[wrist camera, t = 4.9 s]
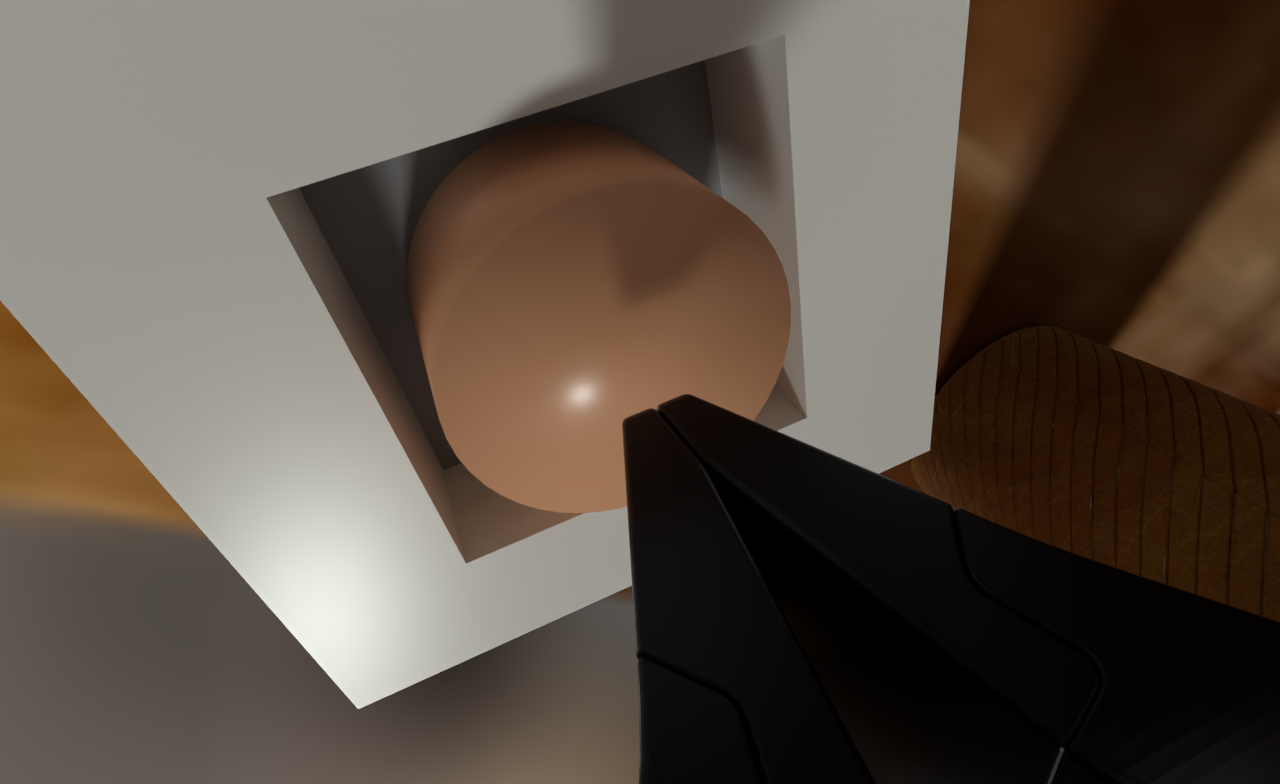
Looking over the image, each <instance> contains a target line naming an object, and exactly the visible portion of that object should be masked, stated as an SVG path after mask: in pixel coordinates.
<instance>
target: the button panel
mask: <svg viewBox="0 0 1280 784" xmlns="http://www.w3.org/2000/svg"><path fill="white" fill-rule="evenodd" d="M969 3H970V0H0V301H1V302H2V303H3V304H4V305H5V306H6V307H7V309H8V310H9V311H10V312H11V313H12V314H13V315H14V317H15V318H16V319H17V320H18V321H19V322H20V323H21V325H22V326H23V327H24V328H25V329H26V330H27V331H28V333H29V334H30V335H31V336H32V337H33V338H34V339H35V341H36V342H37V343H38V344H39V345H40V346H41V347H42V349H43V350H44V351H45V352H46V353H47V354H48V355H49V357H50V358H51V359H52V360H53V361H54V362H55V363H56V365H57V366H58V367H59V368H60V369H61V370H62V371H63V373H64V374H65V375H66V376H67V377H68V378H69V379H70V381H71V382H72V383H73V384H74V385H75V386H76V387H77V389H78V390H79V391H80V392H81V393H82V394H83V395H84V397H85V398H86V399H87V400H88V401H89V402H90V403H91V405H92V406H93V407H94V408H95V409H96V410H97V411H98V413H99V414H100V415H101V416H102V417H103V418H104V419H105V421H106V422H107V423H108V424H109V425H110V426H111V427H112V429H113V430H114V431H115V432H116V433H117V434H118V435H119V437H120V438H121V439H122V440H123V441H124V442H125V443H126V445H127V446H128V447H129V448H130V449H131V450H132V451H133V453H134V454H135V455H136V456H137V457H138V458H139V459H140V461H141V462H142V463H143V464H144V465H145V466H146V467H147V469H148V470H149V471H150V472H151V473H152V474H153V475H154V477H155V478H156V479H157V480H158V481H159V482H160V483H161V485H162V486H163V487H164V488H165V489H166V490H167V491H168V493H169V494H170V495H171V496H172V497H173V498H174V499H175V501H176V502H177V503H178V504H179V505H180V506H181V507H182V509H183V510H184V511H185V512H186V513H187V514H188V515H189V517H190V518H191V519H192V520H193V521H194V522H195V523H196V525H197V526H198V527H199V528H200V529H201V530H202V531H203V533H204V534H205V535H206V536H207V537H208V538H209V539H210V540H211V542H212V543H213V544H214V545H215V546H216V547H217V548H218V550H219V551H220V552H221V553H222V554H223V555H224V556H225V558H226V559H227V560H228V561H229V562H230V563H231V564H232V566H233V567H234V568H235V569H236V570H237V571H238V572H239V574H241V576H242V577H243V578H244V579H245V580H246V582H247V583H248V584H249V585H250V586H251V587H252V588H253V590H254V591H255V592H256V593H257V594H258V595H259V596H260V598H261V599H262V600H263V601H264V602H265V603H266V604H267V606H269V608H270V609H271V610H272V611H273V612H274V613H275V615H276V616H277V617H278V618H279V619H280V620H281V622H282V623H283V624H284V625H285V626H286V627H287V628H288V630H289V631H290V632H291V633H292V634H293V635H294V636H295V638H296V639H297V640H298V641H299V642H300V643H301V644H302V646H303V647H304V648H305V649H306V650H307V651H308V652H309V653H310V655H311V656H312V657H313V658H314V659H315V660H316V661H317V663H318V664H319V665H320V666H321V667H322V668H323V670H324V671H325V672H326V673H327V674H328V675H329V676H330V678H331V679H332V680H333V681H334V682H335V683H336V684H337V686H338V687H339V688H340V689H341V690H342V691H343V692H344V694H345V695H346V696H347V697H348V698H349V699H350V700H351V701H352V703H353V704H354V705H355V706H356V707H357V708H358V709H360V708H362V707H364V706H366V705H369V704H371V703H373V702H375V701H377V700H380V699H382V698H384V697H386V696H388V695H391V694H393V693H395V692H397V691H400V690H402V689H404V688H406V687H408V686H411V685H413V684H415V683H417V682H419V681H422V680H423V679H426V678H428V677H430V676H433V675H435V674H437V673H439V672H441V671H444V670H446V669H448V668H450V667H453V666H455V665H457V664H459V663H461V662H463V661H466V660H468V659H470V658H472V657H474V656H477V655H479V654H481V653H483V652H486V651H488V650H490V649H492V648H494V647H497V646H499V645H501V644H503V643H506V642H508V641H510V640H512V639H514V638H517V637H519V636H521V635H523V634H525V633H527V632H530V631H532V630H534V629H536V628H539V627H541V626H543V625H545V624H547V623H550V622H552V621H554V620H556V619H559V618H561V617H563V616H565V615H567V614H569V613H572V612H574V611H576V610H578V609H581V608H583V607H585V606H587V605H589V604H591V603H594V602H596V601H598V600H601V599H603V598H605V597H607V596H609V595H612V594H614V593H616V592H618V591H620V590H623V589H625V588H627V587H629V586H631V585H632V577H631V561H630V545H629V529H628V512H627V507H623V508H619V509H614V510H608V511H602V512H591V513H560V512H553V511H547V510H540V509H536V508H533V507H529V506H526V505H523V504H519V503H517V502H515V501H513V500H510V499H508V498H506V497H504V496H501V495H500V494H498V493H497V492H495V491H493V490H492V489H490V488H489V487H487V486H485V485H484V484H483V483H482V482H481V481H480V480H478V479H477V478H476V477H475V476H474V475H473V474H471V473H470V472H469V470H468V469H467V468H466V467H465V466H464V465H463V463H462V462H461V461H460V460H459V459H458V457H457V456H456V454H455V453H454V451H453V449H452V447H451V446H450V444H449V442H448V441H447V439H446V436H445V434H444V431H443V429H442V426H441V423H440V421H439V417H438V414H437V410H436V406H435V402H434V398H433V394H432V390H431V386H430V382H429V379H428V375H427V371H426V367H425V363H424V359H423V355H422V351H421V348H420V344H419V340H418V336H417V332H416V328H415V324H414V320H413V316H412V312H411V308H410V303H409V298H408V291H407V264H408V254H409V249H410V245H411V241H412V237H413V233H414V231H415V228H416V226H417V223H418V220H419V218H420V215H421V213H422V211H423V210H424V208H425V206H426V204H427V203H428V201H429V199H430V197H431V196H432V194H433V193H434V192H435V190H436V189H437V188H438V186H439V185H440V184H441V182H442V181H443V180H444V178H445V177H446V176H447V175H448V174H449V173H450V172H451V171H452V170H453V169H454V168H455V167H456V166H457V165H458V164H459V163H460V162H461V161H463V160H464V159H465V158H467V157H468V156H469V155H471V154H472V153H473V152H474V151H476V150H477V149H478V148H480V147H482V146H483V145H485V144H487V143H489V142H491V141H492V140H494V139H496V138H498V137H499V136H502V135H505V134H507V133H510V132H512V131H515V130H517V129H520V128H523V127H527V126H532V125H536V124H540V123H547V122H557V121H581V122H589V123H595V124H600V125H605V126H608V127H611V128H614V129H617V130H620V131H623V132H625V133H627V134H629V135H631V136H633V137H635V138H637V139H639V140H641V141H642V142H644V143H645V144H647V145H648V146H649V147H651V148H652V149H654V150H655V151H656V152H658V153H659V154H661V155H662V156H664V157H665V158H666V159H668V160H669V161H671V162H672V163H674V164H675V165H676V166H678V167H679V168H681V169H682V170H684V171H685V172H686V173H688V174H689V175H691V176H692V177H693V178H695V179H696V180H698V181H699V182H701V183H702V184H703V185H705V186H706V187H708V188H709V189H711V190H712V191H713V192H715V193H716V194H718V195H719V196H721V197H722V198H723V199H725V200H726V201H728V202H729V203H731V204H732V205H733V206H735V207H736V208H737V209H739V210H740V211H741V212H743V213H744V214H746V215H747V216H748V217H749V218H750V219H751V220H752V221H753V222H754V223H755V224H756V225H757V226H758V227H759V228H760V229H761V230H762V231H763V233H764V234H765V236H766V237H767V238H768V240H769V241H770V243H771V244H772V246H773V247H774V249H775V251H776V253H777V255H778V257H779V259H780V261H781V264H782V266H783V269H784V272H785V276H786V279H787V283H788V287H789V294H790V301H791V327H790V335H789V342H788V347H787V351H786V355H785V359H784V363H783V366H782V368H781V371H780V373H779V376H778V379H777V381H776V384H775V386H774V387H773V389H772V391H771V393H770V395H769V397H768V399H767V401H766V403H765V404H764V406H763V407H762V409H761V410H760V412H759V414H758V415H757V417H756V418H755V419H754V421H755V422H757V423H760V424H762V425H764V426H767V427H769V428H771V429H774V430H776V431H778V432H781V433H783V434H786V435H788V436H790V437H793V438H795V439H797V440H800V441H802V442H804V443H807V444H809V445H812V446H814V447H816V448H819V449H821V450H823V451H826V452H828V453H830V454H833V455H835V456H838V457H840V458H842V459H845V460H847V461H849V462H852V463H854V464H856V465H859V466H861V467H864V468H866V469H868V470H871V471H873V472H875V473H878V474H879V473H881V472H883V471H885V470H888V469H890V468H892V467H894V466H896V465H899V464H901V463H903V462H905V461H907V460H910V459H912V458H914V457H916V456H919V455H921V454H923V453H925V452H927V451H930V444H931V432H932V421H933V410H934V398H935V387H936V376H937V365H938V353H939V342H940V331H941V319H942V308H943V297H944V285H945V274H946V263H947V251H948V240H949V229H950V217H951V206H952V195H953V184H954V172H955V161H956V150H957V138H958V127H959V116H960V104H961V93H962V82H963V70H964V59H965V48H966V36H967V25H968V14H969Z"/></svg>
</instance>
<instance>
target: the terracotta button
mask: <svg viewBox="0 0 1280 784" xmlns="http://www.w3.org/2000/svg"><path fill="white" fill-rule="evenodd" d="M407 291H408V298H409V303H410V308H411V312H412V316H413V320H414V324H415V328H416V332H417V336H418V340H419V344H420V348H421V351H422V355H423V359H424V363H425V367H426V371H427V375H428V379H429V382H430V386H431V390H432V394H433V398H434V402H435V406H436V410H437V414H438V417H439V421H440V423H441V426H442V429H443V431H444V434H445V436H446V439H447V441H448V442H449V444H450V446H451V447H452V449H453V451H454V453H455V454H456V456H457V457H458V459H459V460H460V461H461V462H462V463H463V465H464V466H465V467H466V468H467V469H468V470H469V472H470V473H471V474H473V475H474V476H475V477H476V478H477V479H478V480H480V481H481V482H482V483H483V484H484V485H485V486H487V487H489V488H490V489H492V490H493V491H495V492H497V493H498V494H500V495H501V496H504V497H506V498H508V499H510V500H513V501H515V502H517V503H519V504H523V505H526V506H529V507H533V508H536V509H540V510H547V511H553V512H560V513H591V512H602V511H608V510H614V509H619V508H623V507H627V496H626V480H625V464H624V448H623V432H622V422H623V420H624V419H625V418H626V417H629V416H631V415H634V414H636V413H639V412H641V411H644V410H646V409H649V408H652V409H657V407H658V405H659V404H661V403H663V402H666V401H668V400H671V399H673V398H676V397H678V396H680V395H683V394H691V395H693V396H696V397H698V398H701V399H703V400H705V401H708V402H710V403H712V404H715V405H717V406H719V407H722V408H724V409H727V410H729V411H731V412H734V413H736V414H738V415H741V416H743V417H745V418H748V419H750V420H753V421H754V419H755V418H756V417H757V415H758V414H759V412H760V410H761V409H762V407H763V406H764V404H765V403H766V401H767V399H768V397H769V395H770V393H771V391H772V389H773V387H774V386H775V384H776V381H777V379H778V376H779V373H780V371H781V368H782V366H783V363H784V359H785V355H786V351H787V347H788V342H789V335H790V327H791V301H790V294H789V287H788V283H787V279H786V276H785V272H784V269H783V266H782V264H781V261H780V259H779V257H778V255H777V253H776V251H775V249H774V247H773V246H772V244H771V243H770V241H769V240H768V238H767V237H766V236H765V234H764V233H763V231H762V230H761V229H760V228H759V227H758V226H757V225H756V224H755V223H754V222H753V221H752V220H751V219H750V218H749V217H748V216H747V215H746V214H744V213H743V212H741V211H740V210H739V209H737V208H736V207H735V206H733V205H732V204H731V203H729V202H728V201H726V200H725V199H723V198H722V197H721V196H719V195H718V194H716V193H715V192H713V191H712V190H711V189H709V188H708V187H706V186H705V185H703V184H702V183H701V182H699V181H698V180H696V179H695V178H693V177H692V176H691V175H689V174H688V173H686V172H685V171H684V170H682V169H681V168H679V167H678V166H676V165H675V164H674V163H672V162H671V161H669V160H668V159H666V158H665V157H664V156H662V155H661V154H659V153H658V152H656V151H655V150H654V149H652V148H651V147H649V146H648V145H647V144H645V143H644V142H642V141H641V140H639V139H637V138H635V137H633V136H631V135H629V134H627V133H625V132H623V131H620V130H617V129H614V128H611V127H608V126H605V125H600V124H595V123H589V122H581V121H557V122H547V123H540V124H536V125H532V126H527V127H523V128H520V129H517V130H515V131H512V132H510V133H507V134H505V135H502V136H499V137H498V138H496V139H494V140H492V141H491V142H489V143H487V144H485V145H483V146H482V147H480V148H478V149H477V150H476V151H474V152H473V153H472V154H471V155H469V156H468V157H467V158H465V159H464V160H463V161H461V162H460V163H459V164H458V165H457V166H456V167H455V168H454V169H453V170H452V171H451V172H450V173H449V174H448V175H447V176H446V177H445V178H444V180H443V181H442V182H441V184H440V185H439V186H438V188H437V189H436V190H435V192H434V193H433V194H432V196H431V197H430V199H429V201H428V203H427V204H426V206H425V208H424V210H423V211H422V213H421V215H420V218H419V220H418V223H417V226H416V228H415V231H414V233H413V237H412V241H411V245H410V249H409V254H408V264H407Z"/></svg>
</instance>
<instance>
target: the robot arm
mask: <svg viewBox="0 0 1280 784" xmlns="http://www.w3.org/2000/svg"><path fill="white" fill-rule="evenodd" d="M622 432H623V448H624V464H625V480H626V496H627V512H628V529H629V545H630V561H631V577H632V593H633V609H634V625H635V641H636V655H637V658H638V661H637V679H638V694H639V695H638V696H639V731H640V768H639V784H1280V622H1278V621H1275V620H1272V619H1269V618H1266V617H1263V616H1260V615H1257V614H1254V613H1251V612H1248V611H1245V610H1242V609H1239V608H1236V607H1233V606H1230V605H1227V604H1224V603H1221V602H1218V601H1215V600H1212V599H1209V598H1206V597H1202V596H1199V595H1196V594H1193V593H1190V592H1187V591H1184V590H1181V589H1178V588H1175V587H1172V586H1169V585H1166V584H1163V583H1160V582H1157V581H1154V580H1151V579H1148V578H1145V577H1142V576H1139V575H1136V574H1133V573H1130V572H1127V571H1124V570H1121V569H1118V568H1115V567H1112V566H1109V565H1106V564H1103V563H1101V562H1098V561H1095V560H1092V559H1089V558H1086V557H1083V556H1081V555H1078V554H1075V553H1072V552H1069V551H1066V550H1063V549H1061V548H1058V547H1055V546H1052V545H1049V544H1047V543H1044V542H1042V541H1039V540H1037V539H1034V538H1032V537H1029V536H1027V535H1024V534H1022V533H1019V532H1017V531H1014V530H1012V529H1009V528H1007V527H1004V526H1002V525H999V524H997V523H994V522H992V521H989V520H987V519H985V518H982V517H980V516H978V515H975V514H973V513H970V512H968V511H966V510H963V509H961V508H956V509H955V510H954V511H953V508H952V506H951V505H950V504H949V503H946V502H944V501H941V500H939V499H937V498H934V497H932V496H930V495H927V494H925V493H923V492H920V491H918V490H915V489H913V488H911V487H908V486H906V485H904V484H901V483H899V482H897V481H894V480H892V479H889V478H887V477H885V476H882V475H880V474H878V473H875V472H873V471H871V470H868V469H866V468H864V467H861V466H859V465H856V464H854V463H852V462H849V461H847V460H845V459H842V458H840V457H838V456H835V455H833V454H830V453H828V452H826V451H823V450H821V449H819V448H816V447H814V446H812V445H809V444H807V443H804V442H802V441H800V440H797V439H795V438H793V437H790V436H788V435H786V434H783V433H781V432H778V431H776V430H774V429H771V428H769V427H767V426H764V425H762V424H760V423H757V422H755V421H753V420H750V419H748V418H745V417H743V416H741V415H738V414H736V413H734V412H731V411H729V410H727V409H724V408H722V407H719V406H717V405H715V404H712V403H710V402H708V401H705V400H703V399H701V398H698V397H696V396H693V395H691V394H683V395H680V396H678V397H676V398H673V399H671V400H668V401H666V402H663V403H661V404H659V405H658V407H657V409H652V408H649V409H646V410H644V411H641V412H639V413H636V414H634V415H631V416H629V417H626V418H625V419H624V420H623V422H622Z"/></svg>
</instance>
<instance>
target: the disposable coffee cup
mask: <svg viewBox="0 0 1280 784" xmlns="http://www.w3.org/2000/svg"><path fill="white" fill-rule="evenodd" d="M911 468H912V472H913V475H914V478H915V480H916V481H917V483H918V484H919V485H920V487H921V488H922V489H923V490H924V491H925V493H926V494H927V495H930V496H932V497H934V498H937V499H939V500H941V501H944V502H946V503H949V504H950V505H951V506H952V508H953V511H954V510H955V509H956V508H961V509H963V510H966V511H968V512H970V513H973V514H975V515H978V516H980V517H982V518H985V519H987V520H989V521H992V522H994V523H997V524H999V525H1002V526H1004V527H1007V528H1009V529H1012V530H1014V531H1017V532H1019V533H1022V534H1024V535H1027V536H1029V537H1032V538H1034V539H1037V540H1039V541H1042V542H1044V543H1047V544H1049V545H1052V546H1055V547H1058V548H1061V549H1063V550H1066V551H1069V552H1072V553H1075V554H1078V555H1081V556H1083V557H1086V558H1089V559H1092V560H1095V561H1098V562H1101V563H1103V564H1106V565H1109V566H1112V567H1115V568H1118V569H1121V570H1124V571H1127V572H1130V573H1133V574H1136V575H1139V576H1142V577H1145V578H1148V579H1151V580H1154V581H1157V582H1160V583H1163V584H1166V585H1169V586H1172V587H1175V588H1178V589H1181V590H1184V591H1187V592H1190V593H1193V594H1196V595H1199V596H1202V597H1206V598H1209V599H1212V600H1215V601H1218V602H1221V603H1224V604H1227V605H1230V606H1233V607H1236V608H1239V609H1242V610H1245V611H1248V612H1251V613H1254V614H1257V615H1260V616H1263V617H1266V618H1269V619H1272V620H1275V621H1278V622H1280V415H1279V414H1276V413H1274V412H1271V411H1268V410H1265V409H1263V408H1260V407H1258V406H1256V405H1254V404H1251V403H1248V402H1246V401H1243V400H1240V399H1238V398H1235V397H1232V396H1230V395H1229V394H1226V393H1223V392H1221V391H1218V390H1215V389H1212V388H1210V387H1207V386H1204V385H1202V384H1200V383H1199V382H1196V381H1193V380H1190V379H1188V378H1185V377H1182V376H1179V375H1177V374H1175V373H1172V372H1170V371H1167V370H1164V369H1162V368H1159V367H1156V366H1154V365H1152V364H1150V363H1147V362H1144V361H1142V360H1139V359H1136V358H1134V357H1131V356H1129V355H1127V354H1124V353H1122V352H1119V351H1116V350H1114V349H1111V348H1108V347H1106V346H1104V345H1102V344H1099V343H1096V342H1094V341H1091V340H1089V339H1086V338H1084V337H1081V336H1079V335H1076V334H1074V333H1071V332H1069V331H1066V330H1064V329H1062V328H1060V327H1054V326H1046V325H1042V326H1035V327H1028V328H1024V329H1021V330H1018V331H1015V332H1013V333H1011V334H1009V335H1006V336H1004V337H1002V338H1000V339H998V340H996V341H995V342H993V343H992V344H990V345H988V346H987V347H985V348H984V349H982V350H980V351H979V352H978V353H977V354H976V355H975V356H973V357H972V358H971V359H970V360H969V361H968V362H967V363H965V364H964V365H963V366H962V367H961V368H960V369H958V370H957V372H956V373H955V374H954V375H953V376H952V377H951V378H950V379H949V380H948V381H947V382H946V383H945V384H944V386H943V387H942V389H941V390H940V391H939V393H938V394H937V395H936V397H935V398H934V410H933V421H932V432H931V444H930V451H927V452H925V453H923V454H921V455H919V456H916V457H914V458H912V459H911Z"/></svg>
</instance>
